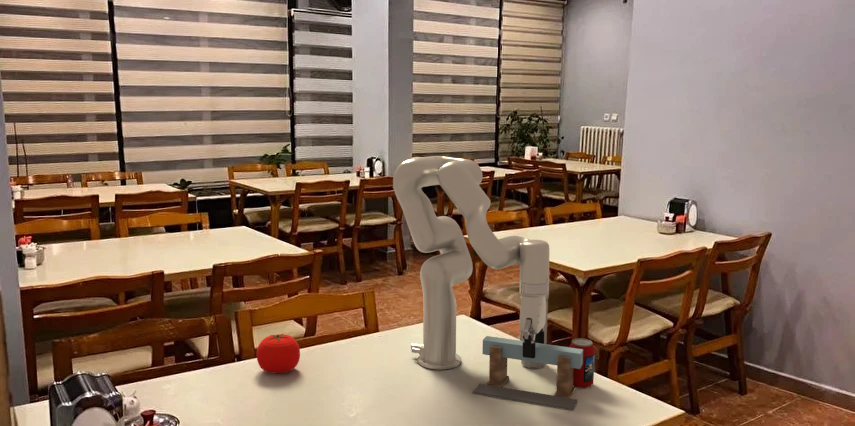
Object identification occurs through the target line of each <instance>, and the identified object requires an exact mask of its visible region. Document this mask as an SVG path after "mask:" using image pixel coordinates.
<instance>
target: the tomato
mask: <svg viewBox="0 0 855 426" xmlns="http://www.w3.org/2000/svg"><path fill="white" fill-rule="evenodd" d="M255 355H256V361H257V363H258V365H259V368H260V369H261V370H263V371H264V372H266V373H269V374H282V373H288V372H291V371H292V370H293V369H295V368H296V367H297V365H299V362H300V360H301V351H300V345H299V344H298V341H297V340H296V339H295V338H294V337H293V336H292V335H289V334H285V333H284V332H283V333H279V334H270V335H268V336H266V337H265V338H263V339H262V340H261V341H260V342H259V344H258V346H257V349H256V354H255Z"/></svg>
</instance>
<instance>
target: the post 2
mask: <svg viewBox="0 0 855 426" xmlns="http://www.w3.org/2000/svg"><path fill="white" fill-rule="evenodd" d="M556 366H557V367H556V389H555V390H556V391H555V392H554V394H553V395H554V396H560V397H566V398H572V396H573V395H574V392H575V389H576V387H574V386H573V374H574V368H570V357H566V356H559V355H558V361H557V365H556Z"/></svg>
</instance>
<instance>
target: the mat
mask: <svg viewBox="0 0 855 426" xmlns="http://www.w3.org/2000/svg"><path fill="white" fill-rule="evenodd" d="M472 394H474V395H480V396H487V397H493V398H498V399H504V400H509V401H516V402H521V403H527V404H533V405H537V406H538V405H539V406H545V407H549V408H556V409H562V410H567V411H572V412H573V411H574V410H575V408H576V406H577V404H578V399H576V398H572V397H571V398H566V397H560V396H554V394H548V393H541V392H535V391H528V390H524V389H518V388H512V387H511V388H510V387H504V386H503V387H500V386H494V385H488V384H487V383H482V382H480V383H478V384H477V386H476V387H475V388H474V389H473V390H472Z"/></svg>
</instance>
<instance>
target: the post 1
mask: <svg viewBox="0 0 855 426" xmlns="http://www.w3.org/2000/svg"><path fill="white" fill-rule="evenodd" d="M488 368H489V369H488V370H489V371H488V373H489V374H488V375H489V376H488V381H487V383H486V384H488V385H494V386H500V387H504V386H505V384H506V383H507V382H508V381H509V380H510V375H508V358H504V357H502V347H497V346H490V355H489V367H488Z"/></svg>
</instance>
